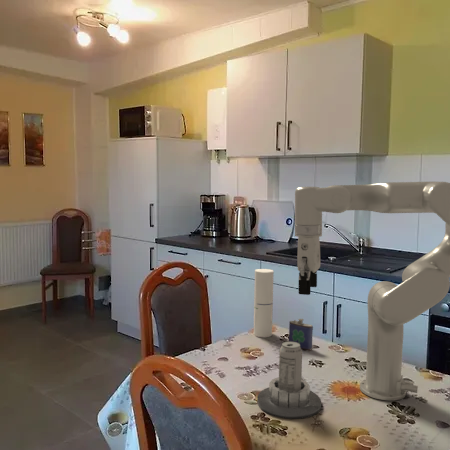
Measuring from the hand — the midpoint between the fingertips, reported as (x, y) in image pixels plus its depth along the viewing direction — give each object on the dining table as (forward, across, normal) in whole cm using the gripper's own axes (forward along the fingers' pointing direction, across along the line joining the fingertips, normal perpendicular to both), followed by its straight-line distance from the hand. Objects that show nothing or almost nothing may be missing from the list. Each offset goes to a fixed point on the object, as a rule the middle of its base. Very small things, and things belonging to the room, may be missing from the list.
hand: (307, 290), depth 137 cm
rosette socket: (+28, -12, +3) cm, 31 cm away
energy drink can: (+27, -12, +2) cm, 30 cm away
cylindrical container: (+28, +41, +26) cm, 56 cm away
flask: (+29, +32, +9) cm, 44 cm away
